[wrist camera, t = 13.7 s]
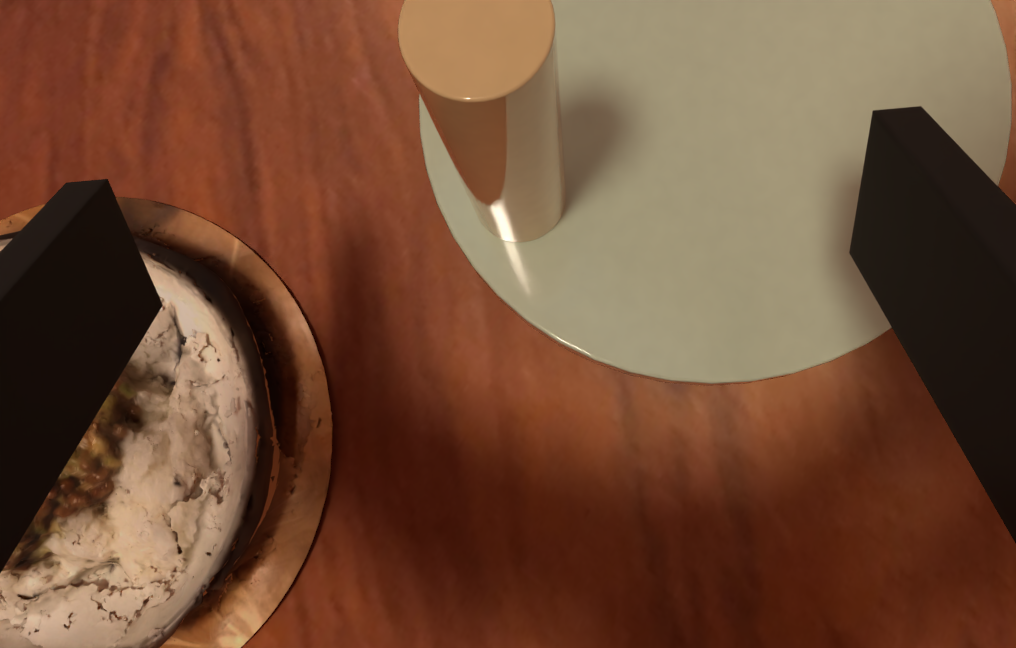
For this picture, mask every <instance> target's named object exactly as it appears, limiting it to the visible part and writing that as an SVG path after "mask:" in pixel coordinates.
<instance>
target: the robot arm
mask: <svg viewBox="0 0 1016 648" xmlns="http://www.w3.org/2000/svg"><path fill="white" fill-rule="evenodd" d="M849 254H850V255H851V257H852V259H853V260H854V262H855V264H856V266H857V267H858V269H859V271H860V273H861V274H862V276H863V278H864V280H865V281H866V283H867V285H868V287H869V288H870V290H871V292H872V294H873V295H874V297H875V299H876V301H877V302H878V304H879V306H880V308H881V309H882V311H883V313H884V315H885V316H886V318H887V320H888V322H889V323H890V325H891V327H892V328H893V330H894V332H895V334H896V335H897V337H898V339H899V341H900V342H901V344H902V346H903V348H904V349H905V351H906V353H907V355H908V356H909V358H910V360H911V362H912V363H913V365H914V367H915V369H916V370H917V372H918V374H919V376H920V377H921V379H922V381H923V383H924V384H925V386H926V388H927V390H928V391H929V393H930V395H931V396H932V398H933V400H934V402H935V403H936V405H937V407H938V409H939V410H940V412H941V414H942V416H943V417H944V419H945V421H946V423H947V424H948V426H949V428H950V430H951V431H952V433H953V435H954V437H955V438H956V440H957V442H958V444H959V445H960V447H961V449H962V451H963V452H964V454H965V456H966V458H967V459H968V461H969V463H970V465H971V466H972V468H973V470H974V471H975V473H976V475H977V477H978V478H979V480H980V482H981V484H982V485H983V487H984V489H985V491H986V492H987V494H988V496H989V498H990V499H991V501H992V503H993V505H994V506H995V508H996V510H997V512H998V513H999V515H1000V517H1001V519H1002V520H1003V522H1004V524H1005V526H1006V527H1007V529H1008V531H1009V533H1010V534H1011V536H1012V538H1013V539H1014V541H1015V543H1016V205H1015V204H1014V203H1013V202H1012V201H1011V200H1010V199H1009V198H1008V197H1007V195H1006V194H1005V193H1004V192H1003V191H1002V190H1001V189H1000V188H999V187H998V186H997V185H996V184H995V183H994V182H993V181H992V180H991V179H990V178H989V177H988V176H987V175H986V173H985V172H984V171H983V170H982V169H981V168H980V167H979V166H978V165H977V164H976V163H975V162H974V161H973V160H972V159H971V158H970V157H969V156H968V155H967V154H966V153H965V152H964V150H963V149H962V148H961V147H960V146H959V145H958V144H957V143H956V142H955V141H954V140H953V139H952V138H951V137H950V136H949V135H948V134H947V133H946V132H945V131H944V130H943V129H942V127H941V126H940V125H939V124H938V123H937V122H936V121H935V120H934V119H933V118H932V117H931V116H930V115H929V114H928V113H927V112H926V111H925V110H924V109H923V108H922V107H921V106H917V107H906V108H895V109H883V110H873V112H872V118H871V124H870V130H869V136H868V142H867V148H866V154H865V160H864V166H863V172H862V178H861V184H860V190H859V196H858V202H857V209H856V215H855V221H854V227H853V233H852V239H851V245H850V251H849ZM162 306H163V304H162V302H161V300H160V298H159V295H158V293H157V291H156V288H155V286H154V284H153V282H152V279H151V277H150V275H149V273H148V270H147V268H146V266H145V263H144V261H143V259H142V257H141V254H140V252H139V250H138V247H137V245H136V243H135V241H134V238H133V236H132V234H131V232H130V229H129V227H128V225H127V222H126V220H125V218H124V216H123V213H122V211H121V209H120V206H119V204H118V202H117V200H116V197H115V195H114V193H113V191H112V188H111V186H110V184H109V181H108V179H103V180H92V181H81V182H70V183H66V184H65V185H64V186H63V187H62V188H61V189H60V190H59V191H58V192H57V193H56V194H55V195H54V196H53V197H52V198H51V199H50V200H49V201H48V202H47V203H46V205H45V206H44V207H43V208H42V209H41V210H40V211H39V212H38V213H37V214H36V215H35V216H34V217H33V218H32V219H31V220H30V221H29V222H28V223H27V224H26V225H25V226H24V227H23V229H22V230H21V231H20V232H19V233H18V234H17V235H16V236H15V237H14V238H13V239H12V240H11V241H10V242H9V243H8V244H7V245H6V246H5V247H4V248H3V249H2V250H1V251H0V573H1V572H2V570H3V568H4V567H5V565H6V563H7V562H8V560H9V558H10V557H11V555H12V553H13V552H14V550H15V548H16V547H17V545H18V544H19V542H20V540H21V539H22V537H23V535H24V534H25V532H26V530H27V529H28V527H29V525H30V524H31V522H32V520H33V519H34V517H35V515H36V514H37V512H38V511H39V509H40V507H41V506H42V504H43V502H44V501H45V499H46V497H47V496H48V494H49V492H50V491H51V489H52V487H53V486H54V484H55V482H56V481H57V479H58V478H59V476H60V474H61V473H62V471H63V469H64V468H65V466H66V464H67V463H68V461H69V459H70V458H71V456H72V454H73V453H74V451H75V449H76V448H77V446H78V445H79V443H80V441H81V440H82V438H83V436H84V435H85V433H86V431H87V430H88V428H89V426H90V425H91V423H92V421H93V420H94V418H95V416H96V415H97V413H98V412H99V410H100V408H101V407H102V405H103V403H104V402H105V400H106V398H107V397H108V395H109V393H110V392H111V390H112V388H113V387H114V385H115V383H116V382H117V380H118V379H119V377H120V375H121V374H122V372H123V370H124V369H125V367H126V365H127V364H128V362H129V360H130V359H131V357H132V355H133V354H134V352H135V350H136V349H137V347H138V346H139V344H140V342H141V341H142V339H143V337H144V336H145V334H146V332H147V331H148V329H149V327H150V326H151V324H152V322H153V321H154V319H155V317H156V316H157V314H158V312H159V311H160V309H161V308H162Z"/></svg>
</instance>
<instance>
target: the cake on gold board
mask: <svg viewBox="0 0 1016 648" xmlns="http://www.w3.org/2000/svg"><path fill="white" fill-rule="evenodd" d="M116 200H117V202H118V204H119V206H120V209H121V211H122V213H123V216H124V218H125V220H126V222H127V225H128V227H129V229H130V232H131V234H132V236H133V238H134V241H135V243H136V245H137V247H138V250H139V252H140V254H141V257H142V259H143V261H144V263H145V266H146V268H147V270H148V273H149V275H150V277H151V279H152V282H153V284H154V286H155V288H156V291H157V293H158V295H159V298H160V300H161V302H162V304H163V306H162V308H161V309H160V311H159V312H158V314H157V316H156V317H155V319H154V321H153V322H152V324H151V326H150V327H149V329H148V331H147V332H146V334H145V336H144V337H143V339H142V341H141V342H140V344H139V346H138V347H137V349H136V350H135V352H134V354H133V355H132V357H131V359H130V360H129V362H128V364H127V365H126V367H125V369H124V370H123V372H122V374H121V375H120V377H119V379H118V380H117V382H116V383H115V385H114V387H113V388H112V390H111V392H110V393H109V395H108V397H107V398H106V400H105V402H104V403H103V405H102V407H101V408H100V410H99V412H98V413H97V415H96V416H95V418H94V420H93V421H92V423H91V425H90V426H89V428H88V430H87V431H86V433H85V435H84V436H83V438H82V440H81V441H80V443H79V445H78V446H77V448H76V449H75V451H74V453H73V454H72V456H71V458H70V459H69V461H68V463H67V464H66V466H65V468H64V469H63V471H62V473H61V474H60V476H59V478H58V479H57V481H56V482H55V484H54V486H53V487H52V489H51V491H50V492H49V494H48V496H47V497H46V499H45V501H44V502H43V504H42V506H41V507H40V509H39V511H38V512H37V514H36V515H35V517H34V519H33V520H32V522H31V524H30V525H29V527H28V529H27V530H26V532H25V534H24V535H23V537H22V539H21V540H20V542H19V544H18V545H17V547H16V548H15V550H14V552H13V553H12V555H11V557H10V558H9V560H8V562H7V563H6V565H5V567H4V568H3V570H2V572H1V573H0V648H241V647H242V646H243V645H244V644H245V643H246V642H247V641H248V640H249V639H250V638H251V637H252V636H253V635H254V634H255V633H256V631H257V630H258V629H259V628H260V627H261V626H262V625H263V623H264V622H265V621H266V620H267V619H268V617H269V616H270V615H271V614H272V612H273V611H274V610H275V608H276V607H277V605H278V604H279V602H280V601H281V600H282V598H283V597H284V595H285V593H286V592H287V590H288V589H289V587H290V586H291V584H292V582H293V581H294V579H295V577H296V575H297V573H298V571H299V569H300V567H301V566H302V564H303V562H304V560H305V558H306V556H307V553H308V551H309V548H310V546H311V543H312V541H313V539H314V535H315V532H316V530H317V527H318V524H319V521H320V517H321V514H322V509H323V506H324V502H325V498H326V494H327V491H328V486H329V479H330V473H331V454H332V427H333V423H332V416H331V415H332V414H333V413H332V412H331V406H330V399H329V394H328V387H327V380H326V376H325V371H324V367H323V365H322V360H321V358H320V356H319V353H318V350H317V347H316V343H315V341H314V338H313V336H312V334H311V332H310V329H309V327H308V324H307V322H306V320H305V318H304V317H303V315H302V312H301V311H300V309H299V307H298V305H297V304H296V302H295V300H294V299H293V298H292V296H291V295H290V293H289V292H288V290H287V289H286V287H285V286H284V285H283V283H282V282H281V280H280V279H279V278H278V277H277V275H276V274H275V273H274V272H273V271H272V270H271V269H270V268H269V267H268V265H267V264H266V263H265V262H264V261H263V260H261V259H260V258H259V257H258V256H257V255H256V254H255V253H254V252H253V251H252V250H251V249H249V248H248V247H247V246H246V245H245V244H243V243H242V242H241V241H239V240H238V239H237V238H235V237H234V236H232V235H231V234H230V233H228V232H226V231H225V230H223V229H222V228H220V227H218V226H216V225H215V224H213V223H211V222H209V221H207V220H205V219H203V218H201V217H199V216H197V215H194V214H192V213H189V212H187V211H184V210H182V209H179V208H176V207H173V206H170V205H166V204H162V203H158V202H154V201H149V200H143V199H135V198H125V197H116ZM45 205H46V204H44V205H40V206H37V207H34V208H31V209H28V210H25V211H22V212H20V213H18V214H14V215H12V216H9V218H8V217H7V218H6V219H3V220H0V251H1V250H2V249H3V248H4V247H5V246H6V245H7V244H8V243H9V242H10V241H11V240H12V239H13V238H14V237H15V236H16V235H17V234H18V233H19V232H20V231H21V230H22V229H23V227H24V226H25V225H26V224H27V223H28V222H29V221H30V220H31V219H32V218H33V217H34V216H35V215H36V214H37V213H38V212H39V211H40V210H41V209H42V208H43V207H44V206H45ZM280 338H281V339H280ZM285 338H286V339H285Z"/></svg>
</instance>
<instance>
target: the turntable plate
mask: <svg viewBox="0 0 1016 648" xmlns="http://www.w3.org/2000/svg"><path fill="white" fill-rule="evenodd" d="M398 42H399V48H400V51H401V54H402V57H403V60H404V62H405V64H406V66H407V68H408V70H409V72H410V75H411V77H412V79H413V81H414V83H415V85H416V87H417V89H418V92H419V120H420V137H421V143H422V148H423V154H424V160H425V166H426V170H427V174H428V177H429V180H430V183H431V186H432V189H433V192H434V195H435V199H436V202H437V204H438V207H439V209H440V211H441V213H442V215H443V217H444V219H445V221H446V223H447V225H448V227H449V230H450V232H451V234H452V236H453V238H454V239H455V241H456V242H457V244H458V245H459V247H460V248H461V250H462V251H463V253H464V254H465V256H466V258H467V259H468V261H469V262H470V264H471V265H472V267H473V268H474V270H475V271H476V273H477V274H478V275H479V276H480V278H481V279H482V280H483V281H484V282H485V283H486V284H487V286H488V287H489V288H490V289H491V290H492V291H493V293H494V294H495V295H496V296H497V297H498V298H499V299H500V301H501V302H503V303H504V304H505V305H506V306H507V307H508V308H509V309H511V310H512V311H513V312H514V313H515V314H516V315H517V316H518V317H520V318H521V319H522V320H523V321H524V322H525V323H526V324H528V325H529V326H530V327H532V328H533V329H535V330H536V331H538V332H539V333H541V334H542V335H544V336H545V337H547V338H548V339H550V340H551V341H553V342H554V343H556V344H557V345H559V346H560V347H562V348H564V349H566V350H568V351H570V352H572V353H574V354H576V355H579V356H581V357H583V358H585V359H587V360H589V361H591V362H593V363H595V364H598V365H601V366H604V367H607V368H610V369H613V370H616V371H619V372H621V373H624V374H627V375H631V376H636V377H640V378H645V379H650V380H655V381H660V382H665V383H674V384H688V385H702V386H713V385H730V384H746V383H752V382H757V381H762V380H768V379H773V378H778V377H784V376H787V375H790V374H793V373H797V372H800V371H803V370H806V369H809V368H812V367H815V366H818V365H821V364H824V363H827V362H830V361H833V360H835V359H837V358H839V357H841V356H843V355H845V354H847V353H849V352H851V351H853V350H855V349H858V348H860V347H862V346H864V345H866V344H868V343H869V342H871V341H872V340H874V339H875V338H877V337H879V336H880V335H882V334H883V333H885V332H886V331H888V330H889V329H891V328H892V327H891V325H890V323H889V322H888V320H887V318H886V316H885V315H884V313H883V311H882V309H881V308H880V306H879V304H878V302H877V301H876V299H875V297H874V295H873V294H872V292H871V290H870V288H869V287H868V285H867V283H866V281H865V280H864V278H863V276H862V274H861V273H860V271H859V269H858V267H857V266H856V264H855V262H854V260H853V259H852V257H851V255H850V254H849V251H850V245H851V239H852V233H853V227H854V221H855V215H856V209H857V202H858V196H859V190H860V184H861V178H862V172H863V166H864V160H865V154H866V148H867V142H868V136H869V130H870V124H871V118H872V112H873V110H883V109H895V108H906V107H917V106H921V107H922V108H923V109H924V110H925V111H926V112H927V113H928V114H929V115H930V116H931V117H932V118H933V119H934V120H935V121H936V122H937V123H938V124H939V125H940V126H941V127H942V129H943V130H944V131H945V132H946V133H947V134H948V135H949V136H950V137H951V138H952V139H953V140H954V141H955V142H956V143H957V144H958V145H959V146H960V147H961V148H962V149H963V150H964V152H965V153H966V154H967V155H968V156H969V157H970V158H971V159H972V160H973V161H974V162H975V163H976V164H977V165H978V166H979V167H980V168H981V169H982V170H983V171H984V172H985V173H986V175H987V176H988V177H989V178H990V179H991V180H992V181H993V182H994V183H995V184H996V185H997V186H998V185H999V182H1000V179H1001V175H1002V172H1003V169H1004V165H1005V162H1006V157H1007V150H1008V143H1009V136H1010V129H1011V122H1012V84H1011V77H1010V71H1009V64H1008V57H1007V50H1006V45H1005V42H1004V39H1003V35H1002V32H1001V28H1000V25H999V22H998V18H997V15H996V12H995V9H994V7H993V5H992V3H991V1H990V0H405V1H404V3H403V6H402V9H401V12H400V16H399V21H398Z"/></svg>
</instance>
